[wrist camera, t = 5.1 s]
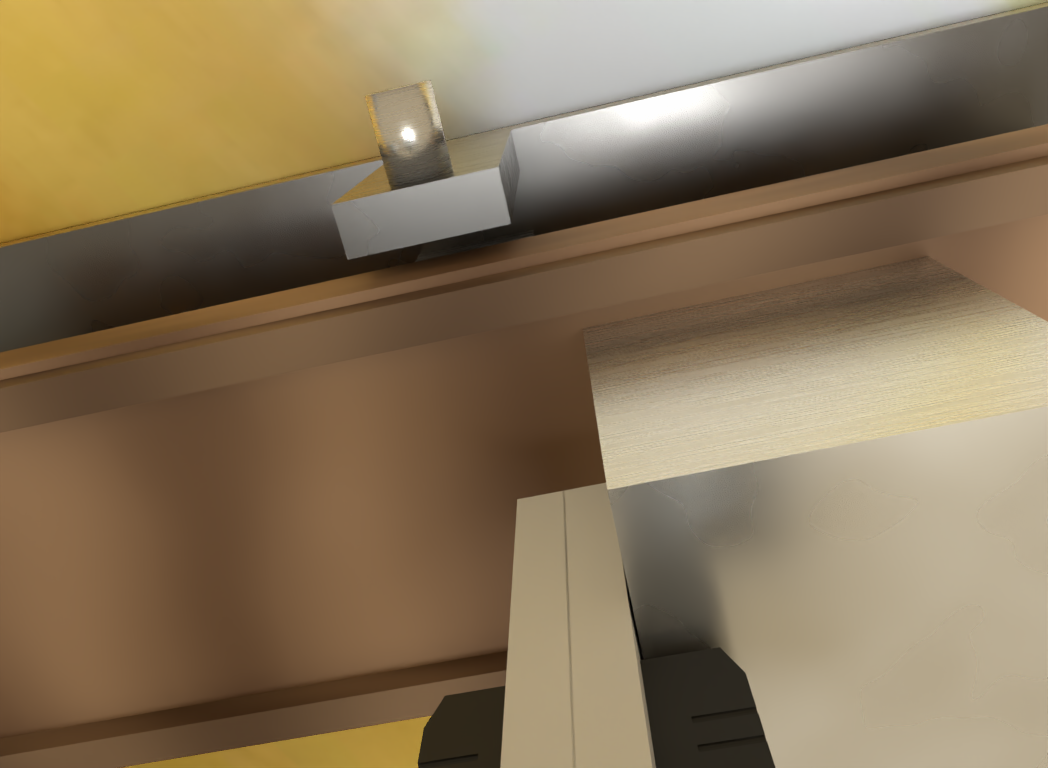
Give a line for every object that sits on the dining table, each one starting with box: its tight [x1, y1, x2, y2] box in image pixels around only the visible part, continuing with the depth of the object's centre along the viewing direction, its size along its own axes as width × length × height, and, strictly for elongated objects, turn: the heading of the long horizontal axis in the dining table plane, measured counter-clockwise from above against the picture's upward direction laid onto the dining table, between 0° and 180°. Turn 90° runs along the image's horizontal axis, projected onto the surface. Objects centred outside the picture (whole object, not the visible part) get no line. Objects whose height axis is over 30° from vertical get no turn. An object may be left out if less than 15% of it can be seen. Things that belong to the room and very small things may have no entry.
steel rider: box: [583, 256, 1048, 768], centre depth 13 cm, size 6×6×6 cm
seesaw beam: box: [0, 124, 1048, 768], centre depth 17 cm, size 30×9×2 cm, turn 103°
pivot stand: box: [0, 2, 1048, 352], centre depth 21 cm, size 32×15×8 cm, turn 103°
